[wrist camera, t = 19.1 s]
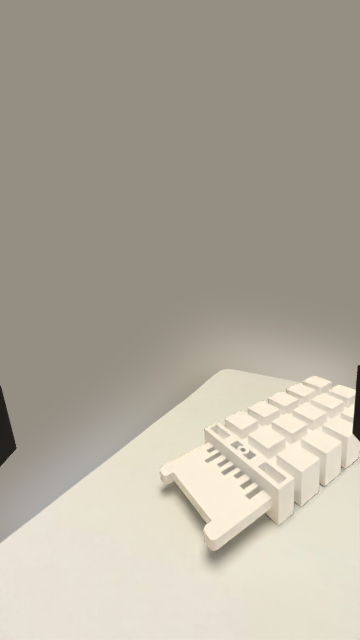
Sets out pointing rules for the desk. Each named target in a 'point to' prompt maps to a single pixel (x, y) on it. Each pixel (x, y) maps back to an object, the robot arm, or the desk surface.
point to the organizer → (268, 458)
